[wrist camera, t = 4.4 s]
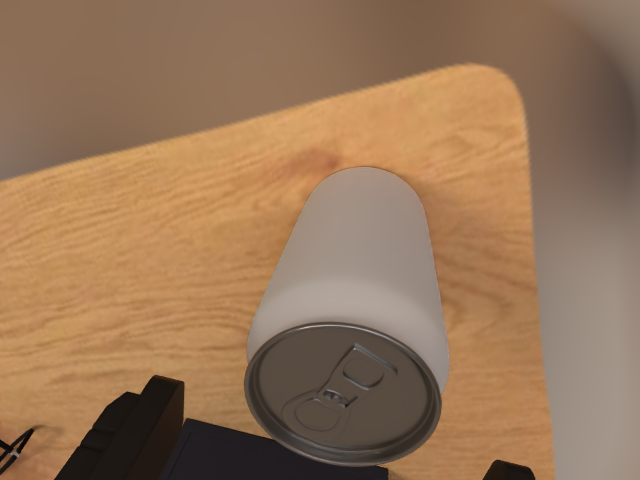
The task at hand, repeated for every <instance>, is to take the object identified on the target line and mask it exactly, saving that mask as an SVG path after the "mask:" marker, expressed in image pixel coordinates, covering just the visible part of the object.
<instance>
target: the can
mask: <svg viewBox="0 0 640 480" xmlns="http://www.w3.org/2000/svg"><path fill="white" fill-rule="evenodd" d="M247 359H248V367H247V370H246V373H245V379H244V391H245V397H246V401H247V404H248V406H249V409H250V411H251V413H252V415H253V416H254V418H255V419H256V421H257V422H258V423H259V425H260V426H261V427H262V428H263V429H264V430H265V431H266V432H267V433H268V434H269V435H270V436H271V437H272V438H273V439H275V440H276V441H277V442H279V443H280V444H281V445H283V446H285V447H286V448H288V449H290V450H291V451H293V452H295V453H297V454H300V455H302V456H304V457H307V458H310V459H312V460H316V461H319V462H323V463H327V464H332V465H339V466H350V467H362V466H374V465H380V464H384V463H388V462H392V461H395V460H398V459H400V458H402V457H405V456H407V455H408V454H410V453H412V452H414V451H415V450H417V449H418V448H419V447H420V446H422V445H423V444H424V443H425V442H426V441H427V440H428V439H429V437H430V436H431V435H432V433H433V432H434V430H435V428H436V427H437V424H438V422H439V419H440V415H441V407H442V401H441V395H442V393H443V391H444V389H445V386H446V383H447V379H448V375H449V348H448V340H447V333H446V327H445V321H444V315H443V309H442V303H441V297H440V291H439V285H438V280H437V274H436V268H435V263H434V257H433V251H432V246H431V240H430V235H429V229H428V224H427V219H426V215H425V211H424V208H423V205H422V203H421V201H420V199H419V197H418V195H417V194H416V192H415V191H414V190H413V189H412V188H411V187H410V186H409V185H408V184H407V183H406V182H405V181H404V180H402V179H401V178H399V177H398V176H396V175H394V174H392V173H390V172H388V171H385V170H382V169H378V168H372V167H354V168H348V169H344V170H341V171H338V172H336V173H334V174H332V175H330V176H329V177H327V178H326V179H324V180H323V181H322V182H320V183H319V184H318V185H317V186H316V188H315V189H314V190H313V191H312V193H311V194H310V196H309V197H308V199H307V201H306V203H305V205H304V207H303V209H302V211H301V213H300V216H299V218H298V220H297V222H296V224H295V226H294V229H293V231H292V233H291V235H290V237H289V239H288V242H287V244H286V246H285V248H284V250H283V253H282V255H281V257H280V259H279V261H278V264H277V266H276V268H275V270H274V272H273V275H272V277H271V279H270V281H269V284H268V286H267V288H266V290H265V292H264V295H263V297H262V299H261V302H260V304H259V306H258V308H257V311H256V313H255V316H254V318H253V321H252V323H251V327H250V330H249V334H248V339H247Z"/></svg>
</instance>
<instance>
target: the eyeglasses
mask: <svg viewBox="0 0 640 480" xmlns="http://www.w3.org/2000/svg"><path fill="white" fill-rule="evenodd" d="M33 432H34V430H33V429H30V430H28V431H27V432H25V433H24V434H23V435H22V436H20V437H19V438H18V439H17V440H16V441H15V442H14V443H12V444H11V445H10V446H9V445H8V444H6V443H5V442H3V441H2V440H0V447H1V448H3V449H4V450H6V451H5V452H4V453H3V454H2V455H1V456H0V462H1V461H2V460H3V459H4V457H5V456H6V455H7V454H8V453H11V454H12V456H11V458H10V459H9V460H8V461H7V462H6V464H5V465H4V466H3V467H2V468H1V469H0V475H1V474H2V473H3V472H4V471H5V470H6V469H7V468H8V467H9V466H10V465H11V464H12V463H13V462H14V461H15V460H16V459H17V458H18V457H19V456H20V453H21V450H22V449H23V447H24V446H25V444H26V443H27V441H28V440H29V438H30V437H31V435H32V433H33ZM22 439H24V440H23V441H22V443H21V444H20V445H19V447H18V448H17V450H15V449H14V448H13V447H14V446H15V445H17V444H18V443H19V442H20V441H21V440H22Z"/></svg>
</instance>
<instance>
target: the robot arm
mask: <svg viewBox="0 0 640 480" xmlns="http://www.w3.org/2000/svg"><path fill="white" fill-rule="evenodd" d="M183 414H184V382H183V381H179V380H175V379H171V378H167V377H163V376H159V375H154V376H153V377H152V378H151V379H150V380H149V382H148V383H147V385H146V386H145V388H144V389H143V391H142V392H141V394H140V395H139V394H135V393H131V392H125V393H124V394H123V395H121V396H120V397H119V398H117V399H116V400H114V401H113V402H112V403H110V404H109V405H108V406H107V407H106V408H105V409H104V411H103V412H102V414H101V415H100V416H99V418H98V419H97V421H96V422H95V423H94V425H93V427H92V429H91V430H89V432H88V433H87V434H86V436H85V437H84V439H83V440H82V441H81V444H80V446H78V447H77V448H76V450H75V451H74V453H73V454H72V455H71V457H70V458H69V460H68V461H67V462H66V464H65V465H64V467H63V468H62V469H61V471H60V472H59V473H58V475H57V476H56V478H55V479H54V480H159V478H160V476H161V474H162V472H163V469H164V467H165V465H166V463H167V461H168V459H169V457H170V455H171V453H172V451H173V449H174V447H175V445H176V443H177V440H178V438H179V435H180V432H181V429H182V424H183ZM483 480H535V477H534V474H533V472H532V471H531V469H530V468H528V467H526V466H522V465H518V464H514V463H510V462H505V461H501V460H495V461H494V462H493V463H492V465H491V467H490V468H489V470H488V471H487V473H486V475H485V476H484V478H483Z"/></svg>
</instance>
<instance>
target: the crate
mask: <svg viewBox="0 0 640 480" xmlns="http://www.w3.org/2000/svg"><path fill="white" fill-rule="evenodd" d="M159 480H388V469H385V468H381V467H377V466H362V467H350V466H339V465H332V464H327V463H323V462H319V461H316V460H312V459H310V458H307V457H304V456H302V455H300V454H297V453H295V452H293V451H291V450H290V449H288V448H286V447H285V446H283V445H281V444H280V443H279V442H277V441H274V440H270V439H266V438H262V437H258V436H254V435H251V434H247V433H243V432H239V431H235V430H231V429H227V428H223V427H219V426H215V425H211V424H207V423H203V422H199V421H195V420H191V419H186V420H185V422H184V424H183V426H182V429H181V432H180V435H179V438H178V440H177V443H176V445H175V447H174V449H173V451H172V453H171V455H170V457H169V459H168V461H167V463H166V465H165V467H164V469H163V472H162V474H161V476H160V478H159Z"/></svg>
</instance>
